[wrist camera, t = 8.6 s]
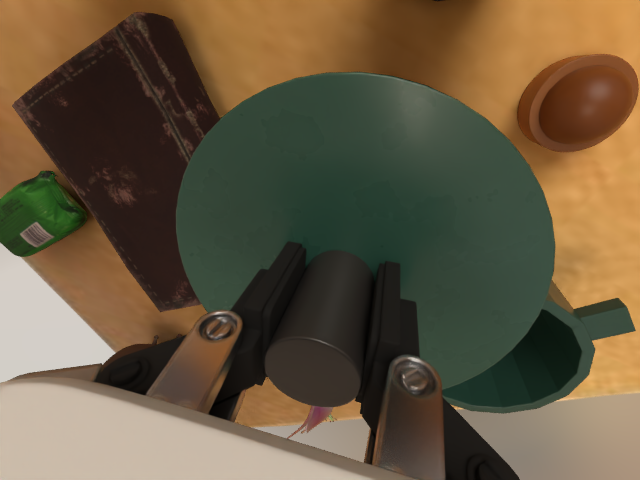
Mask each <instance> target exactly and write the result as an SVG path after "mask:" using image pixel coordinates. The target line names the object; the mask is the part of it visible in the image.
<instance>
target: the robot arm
mask: <svg viewBox="0 0 640 480" xmlns="http://www.w3.org/2000/svg"><path fill="white" fill-rule="evenodd" d="M305 263H306V248H302V244H300V243H295V242H290V241H288V242H287V243H286V244H285V246H284V247H283V249H282V250H281V252H280V253H279V255H278V256H277V258H276V259H275V261H274V262H273V264H272V265H271V266H270V268H269V269H268V270H267V269H263V268H262V269H260V270H259V271H258V273H257V274H256V275H255V277H254V278H253V280H252V281H251V282H250V284H249V285H248V286H247V288H246V289H245V291H244V292H243V293H242V295H241V296H240V297H239V299H238V300H237V302H236V303H235V304H234V306H233V307H232V308H231V310H215V311H212V312H209V313H207V314H205V315H203V316H202V317H200V319H199V320H198V321H197V322H196V323H195V324H194V326H193V327H192V329H191V330H190V332H189V333H188V335H185V336H182V337H179V338H176V339H173V340H170V341H167V342H164V343H161V344H158V345H155V346H152V347H149V348H146V349H143V350H140V351H137V352H134V353H131V354H128V355H125V356H122V357H120V358H118V359H116V360H115V361H113V362H112V363H110V364H109V365H108V366H106V367H103V365H102V364H101V363H100V364H93V365H86V366H78V367H71V368H63V369H56V370H48V371H40V372H33V373H27V374H24V375H19V376H17V377H15V378H13V379H11V380H8V381H6V382H2V383H0V480H520V479H519V477H518V476H517V475H516V474H515V472H514V471H513V470H512V469H511V467H510V466H509V465H508V464H507V463H506V462H505V461H504V460H503V459H502V458H501V457H500V456H499V454H498V453H497V452H496V451H495V450H494V449H493V448H492V447H491V446H490V445H489V444H488V443H487V442H486V441H485V440H484V439H483V438H482V437H481V436H480V435H479V434H478V433H477V432H476V431H475V430H474V429H473V428H472V427H471V426H470V425H469V424H468V422H467V421H466V420H465V419H464V418H463V417H462V416H461V415H460V414H459V413H458V412H457V411H456V410H455V409H454V408H453V407H452V406H451V405H450V404H449V403H448V402H447V401H446V400H445V399H444V398H443V396H442V382H441V378H440V376H439V374H438V372H437V371H436V369H435V368H434V367H433V366H432V365H431V364H430V363H428V362H427V361H425V360H424V359H422V358H420V350H419V335H418V320H417V305H416V302H415V301H410V300H406V299H401V298H400V263H396V262H391V261H385V264H382V263H379V267H378V272H377V276H376V281H375V285H374V292H373V299H372V307H371V315H370V323H369V331H368V339H367V346H366V354H365V362H364V373H363V381H362V387H361V390H360V392H359V394H358V395H357V396H356V399H355V401H356V402H360V403H361V409H360V414H362V417H363V418H364V420H365V421H366V422H367V424H368V425H369V427H370V431H369V437H368V442H367V448H366V453H365V459H364V463H362V462H359V461H356V460H353V459H350V458H347V457H344V456H340V455H337V454H334V453H331V452H328V451H325V450H321V449H318V448H315V447H312V446H309V445H305V444H302V443H299V442H295V441H292V440H289V439H286V438H282V437H279V436H276V435H273V434H270V433H267V432H263V431H260V430H257V429H254V428H250V427H247V426H244V425H241V424H237V423H234V421H235V419H236V416H237V414H238V411H239V409H240V406H241V403H242V401H243V398H244V396H245V392H246V389H248V388H250V387H252V386H254V385H255V384H257V385H261V386H262V385H263V382H264V380H265V378H266V377H268V376H267V374H266V371H265V368H264V355H265V352H266V350H267V348H268V346H269V344H270V342H271V339H272V337H273V335H274V333H275V331H276V329H277V327H278V325H279V323H280V321H281V319H282V317H283V315H284V313H285V311H286V309H287V307H288V305H289V303H290V301H291V299H292V297H293V295H294V292H295V290H296V288H297V286H298V284H299V282H300V280H301V278H302V276H303V274H304V272H305Z"/></svg>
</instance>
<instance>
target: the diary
mask: <svg viewBox="0 0 640 480" xmlns="http://www.w3.org/2000/svg"><path fill="white" fill-rule="evenodd" d="M12 107H13V108H14V109H15V111H16V112H17V113H18V115H19V116H20V117H21V119H22V120H23V121H24V123H25V124H26V125H27V127H28V128H29V129H30V131H31V132H32V134H33V135H34V136H35V138H36V139H37V140H38V142H39V143H40V144H41V146H42V147H43V148H44V150H45V151H46V152H47V154H48V155H49V157H50V158H51V159H52V161H53V162H54V163H55V165H56V166H57V167H58V169H59V170H60V171H61V173H62V174H63V175H64V177H65V178H66V179H67V181H68V182H69V184H70V185H71V186H72V188H73V189H74V190H75V192H76V193H77V194H78V196H79V197H80V198H81V200H82V201H83V202H84V204H85V205H86V206H87V208H88V209H89V211H90V212H91V213H92V215H93V216H94V217H95V219H96V220H97V222H98V223H99V225H100V226H101V228H102V230H103V231H104V233H105V234H106V236H107V237H108V239H109V241H110V242H111V244H112V245H113V247H114V248H115V250H116V252H117V253H118V255H119V256H120V258H121V259H122V261H123V263H124V264H125V266H126V267H127V269H128V270H129V271H130V273H131V274H132V275H133V277H134V278H135V279H136V281H137V282H138V283H139V285H140V286H141V287H142V289H143V290H144V291H145V292H146V294H147V295H148V296H149V298H150V299H151V300H152V302H153V303H154V304H155V306H156V307H157V308H158V310H159V311H160V312H163V311H169V310H174V309H179V308H185V307H190V306H195V305H201V302H200V301H199V299H198V297H197V295H196V293H195V292H194V290H193V288H192V286H191V284H190V281H189V279H188V277H187V274H186V272H185V269H184V266H183V263H182V259H181V256H180V252H179V247H178V240H177V233H176V209H177V201H178V193H179V190H180V186H181V183H182V179H183V176H184V173H185V170H186V168H187V166H188V164H189V162H190V160H191V157H192V155H193V153H194V152H195V150H196V149H197V147H198V146H199V144H200V143H201V141H202V140H203V138H204V137H205V135H206V134H207V133H208V132H209V131H210V130H211V129H212V128H213V127H214V125H215V124H216V123H217V122H218V121H219V120H220V118H219V116H218V115H217V113H216V111H215V109H214V107H213V105H212V103H211V101H210V99H209V97H208V95H207V93H206V91H205V88H204V86H203V84H202V82H201V80H200V77H199V75H198V73H197V71H196V69H195V67H194V64H193V62H192V60H191V58H190V56H189V54H188V51H187V49H186V47H185V45H184V43H183V40H182V38H181V36H180V34H179V32H178V30H177V28H176V26H175V24H174V22H173V20H172V19H170V18H167V17H165V16H162V15H158V14H154V13H143V12H136V13H133V14H131V15H130V16H129V17H127V18H126V19H125V20H123V21H122V22H121V23H119V24H118V25H117V26H116V27H114V28H113V29H111V30H110V31H109V32H107V33H106V34H105V35H103V36H102V37H101V38H99V39H98V40H97V41H95V42H94V43H93V44H91V45H90V46H88V47H87V48H85V49H84V50H82V51H81V52H79V53H78V54H77V55H75V56H74V57H72V58H71V59H69V60H68V61H66V62H65V63H64V64H62V65H61V66H60V67H58V68H57V69H56V70H54V71H53V72H52V73H50V74H49V75H48V76H46V77H45V78H44V79H42V80H41V81H40V82H38V83H37V84H36V85H34V86H33V87H32V88H31V89H30V90H29V91H27V92H26V93H25V94H24V95H23V96H21V97H20V98H19V99H18V100H17V101H15V102H14V104H13V105H12Z"/></svg>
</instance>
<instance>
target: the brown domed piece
mask: <svg viewBox="0 0 640 480" xmlns="http://www.w3.org/2000/svg"><path fill="white" fill-rule="evenodd" d="M637 96H638V79H637V76H636V73H635V71H634V69H633V68H632V66H631V65H630V64H629V63H628V62H626V61H625V60H623V59H621V58H619V57H617V56H613V55H608V54H594V55H584V56H575V57H570V58H566V59H563V60H561V61H558V62H556V63H554V64H552V65H550V66H549V67H547V68H546V69H544V70H543V71H542V72H541V73H539V74H538V75H537V76H536V77H535V78H534V79H533V80H532V82H531V83H530V84H529V85H528V87H527V88H526V90H525V92H524V93H523V95H522V98H521V100H520V103H519V107H518V122H519V125H520V128H521V130H522V132H523V133H524V134H525V136H526V137H528V138H529V139H530V140H532V141H533V142H535V143H537V144H539V145H541V146H543V147H545V148H547V149H549V150H553V151H558V152H574V151H579V150H583V149H586V148H589V147H592V146H594V145H596V144H598V143H600V142H602V141H603V140H605V139H606V138H608V137H609V136H610V135H612V134H613V133H614V132H615V131H616V130H618V129H619V128H620V126H621V125H622V124H623V123H624V122H625V121H626V119H627V118H628V117H629V115H630V113H631V112H632V110H633V108H634V105H635V103H636V100H637Z"/></svg>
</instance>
